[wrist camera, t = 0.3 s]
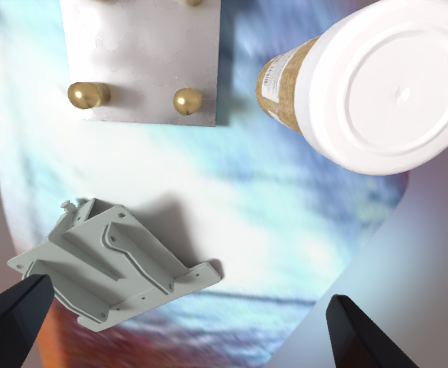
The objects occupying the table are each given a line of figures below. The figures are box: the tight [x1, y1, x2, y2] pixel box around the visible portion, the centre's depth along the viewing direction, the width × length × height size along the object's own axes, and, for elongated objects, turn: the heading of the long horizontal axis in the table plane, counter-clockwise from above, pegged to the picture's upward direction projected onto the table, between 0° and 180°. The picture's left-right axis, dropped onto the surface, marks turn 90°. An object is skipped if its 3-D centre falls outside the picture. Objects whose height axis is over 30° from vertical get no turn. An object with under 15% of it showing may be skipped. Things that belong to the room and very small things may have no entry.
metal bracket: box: [7, 198, 221, 332], centre depth 24 cm, size 14×6×15 cm
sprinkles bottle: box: [255, 0, 448, 176], centre depth 13 cm, size 5×5×14 cm
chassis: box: [60, 0, 221, 127], centre depth 17 cm, size 10×10×4 cm
